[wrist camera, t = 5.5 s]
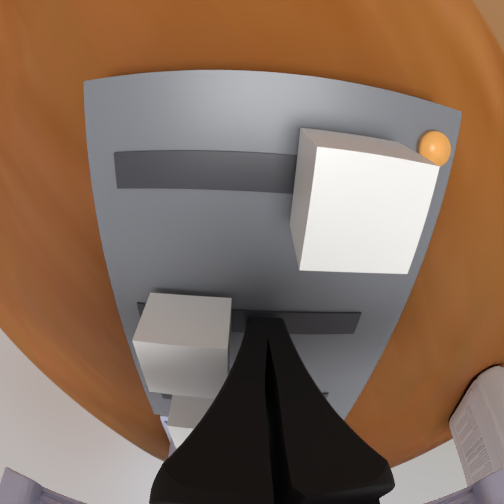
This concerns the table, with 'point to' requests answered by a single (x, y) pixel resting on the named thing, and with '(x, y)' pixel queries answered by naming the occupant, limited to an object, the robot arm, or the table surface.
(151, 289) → the switch panel
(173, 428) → the switch
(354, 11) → the table surface
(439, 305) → the table surface
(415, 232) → the switch
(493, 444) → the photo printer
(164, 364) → the switch middle
